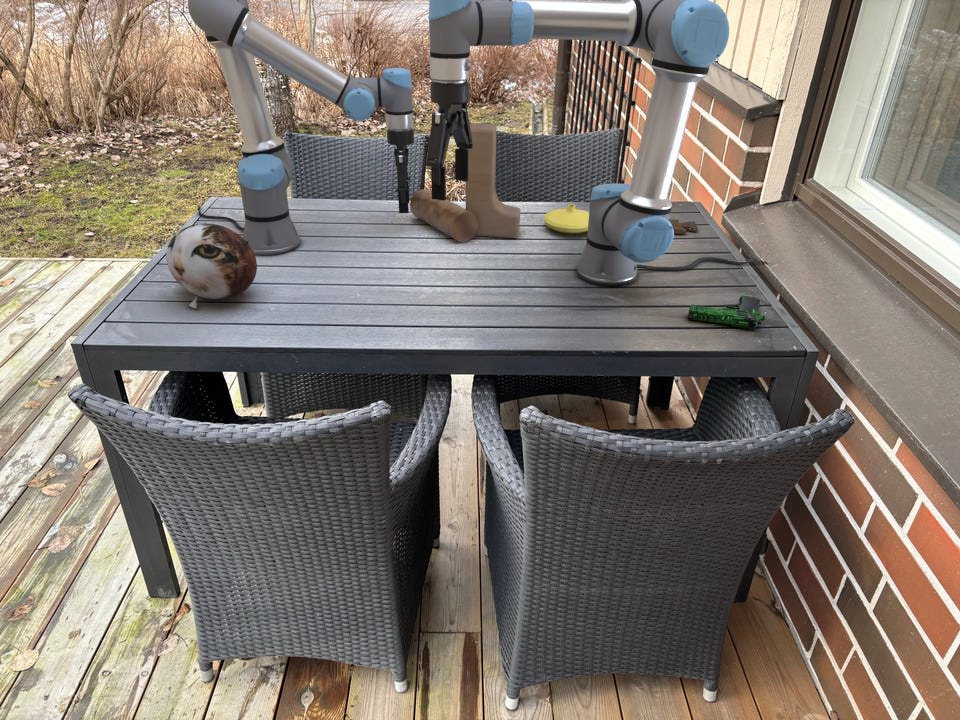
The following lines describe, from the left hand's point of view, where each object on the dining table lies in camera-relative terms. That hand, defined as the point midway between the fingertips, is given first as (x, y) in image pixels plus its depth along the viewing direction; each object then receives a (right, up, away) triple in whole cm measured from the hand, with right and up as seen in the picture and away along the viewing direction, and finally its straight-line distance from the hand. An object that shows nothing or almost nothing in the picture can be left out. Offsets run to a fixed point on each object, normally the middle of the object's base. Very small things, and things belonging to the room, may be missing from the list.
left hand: (404, 207), depth 210 cm
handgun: (+79, -34, -45) cm, 97 cm away
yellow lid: (+49, -6, +1) cm, 49 cm away
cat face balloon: (-40, -30, -41) cm, 64 cm away
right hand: (+16, -10, -63) cm, 65 cm away
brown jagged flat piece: (+74, -6, +3) cm, 74 cm away
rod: (+9, -6, -2) cm, 11 cm away
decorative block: (+26, -8, -3) cm, 27 cm away
